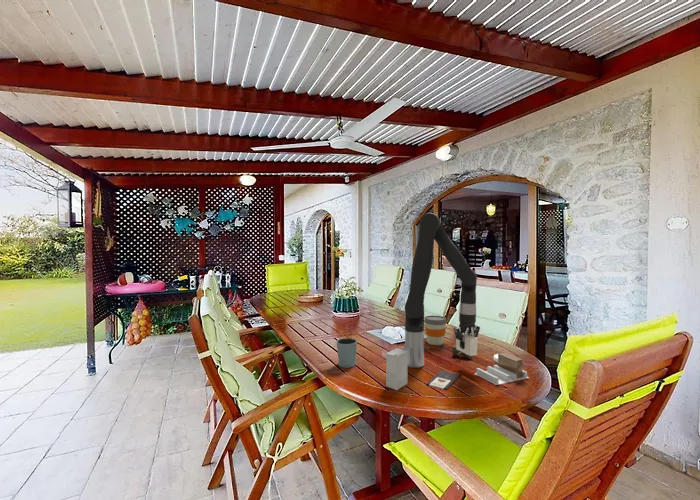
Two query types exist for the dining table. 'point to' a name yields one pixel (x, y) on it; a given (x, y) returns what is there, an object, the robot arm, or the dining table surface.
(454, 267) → the robot arm
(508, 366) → the brown rectangular block
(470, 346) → the cream rectangular block
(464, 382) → the dining table surface
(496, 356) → the white round tin
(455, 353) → the kendama
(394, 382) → the skincare box
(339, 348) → the grey cup
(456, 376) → the chocolate bar
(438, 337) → the reusable coffee cup
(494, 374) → the dish rack
